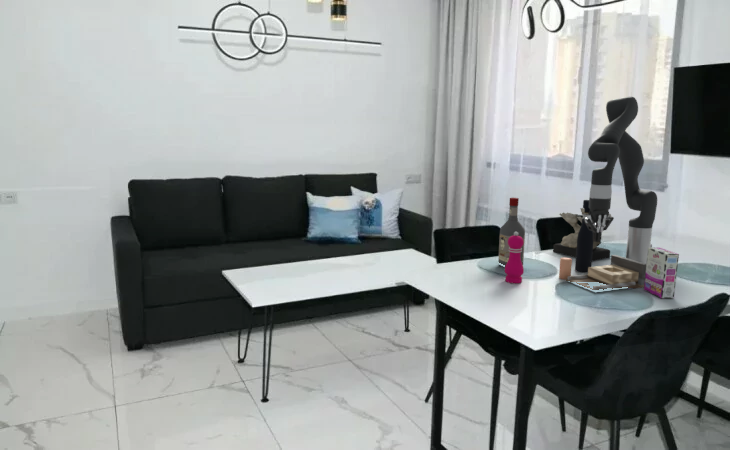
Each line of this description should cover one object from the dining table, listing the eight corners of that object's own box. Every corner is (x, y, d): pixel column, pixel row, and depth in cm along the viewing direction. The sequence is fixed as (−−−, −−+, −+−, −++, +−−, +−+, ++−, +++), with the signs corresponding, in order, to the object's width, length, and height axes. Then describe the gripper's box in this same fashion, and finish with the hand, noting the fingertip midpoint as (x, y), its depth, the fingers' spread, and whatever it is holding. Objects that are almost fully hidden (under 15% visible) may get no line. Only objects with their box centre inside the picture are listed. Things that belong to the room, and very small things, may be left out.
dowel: (565, 276, 220) (566, 257, 218) (572, 279, 215) (574, 259, 214) (556, 277, 218) (557, 258, 217) (563, 280, 214) (565, 260, 213)
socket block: (612, 274, 217) (613, 264, 217) (637, 283, 206) (638, 272, 205) (587, 277, 213) (588, 267, 213) (611, 286, 202) (612, 275, 201)
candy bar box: (675, 298, 191) (680, 253, 188) (661, 299, 191) (666, 254, 188) (655, 289, 202) (660, 246, 199) (643, 289, 202) (647, 247, 199)
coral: (547, 250, 266) (550, 207, 262) (576, 246, 275) (579, 204, 271) (589, 261, 244) (593, 214, 240) (619, 256, 253) (623, 211, 249)
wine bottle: (592, 273, 224) (598, 201, 219) (576, 272, 226) (581, 201, 220) (589, 269, 231) (595, 199, 225) (573, 268, 232) (578, 199, 226)
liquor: (513, 262, 241) (517, 196, 235) (525, 268, 232) (529, 199, 227) (495, 264, 238) (499, 197, 232) (507, 269, 229) (511, 200, 224)
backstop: (613, 276, 220) (615, 254, 218) (645, 287, 205) (647, 264, 203) (565, 281, 212) (567, 259, 211) (594, 293, 197) (596, 269, 196)
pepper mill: (512, 284, 208) (515, 234, 204) (500, 280, 214) (502, 230, 210) (527, 282, 211) (529, 232, 207) (514, 277, 217) (516, 229, 214)
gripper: (606, 194, 208) (603, 238, 211) (579, 196, 204) (575, 240, 207) (621, 197, 201) (617, 242, 204) (593, 198, 197) (590, 244, 200)
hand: (596, 241), depth 205 cm, fingers closed
